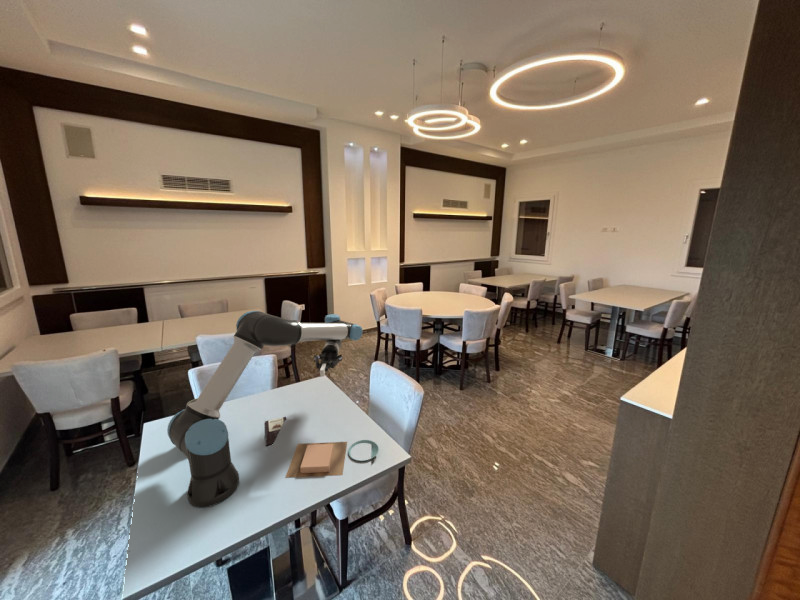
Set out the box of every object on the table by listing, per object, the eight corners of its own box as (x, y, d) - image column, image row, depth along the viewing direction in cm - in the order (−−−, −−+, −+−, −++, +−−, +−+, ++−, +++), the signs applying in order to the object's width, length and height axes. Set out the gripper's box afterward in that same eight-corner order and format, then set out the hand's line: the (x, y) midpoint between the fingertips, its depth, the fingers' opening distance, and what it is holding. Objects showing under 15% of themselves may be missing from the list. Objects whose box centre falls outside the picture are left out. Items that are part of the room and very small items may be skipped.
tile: (308, 450, 123) (300, 473, 111) (307, 444, 123) (300, 467, 111) (333, 449, 124) (329, 472, 112) (333, 443, 123) (328, 466, 112)
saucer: (356, 470, 115) (356, 464, 115) (343, 451, 125) (343, 446, 124) (384, 457, 121) (383, 452, 121) (370, 441, 131) (370, 436, 131)
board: (285, 480, 110) (285, 477, 109) (298, 446, 127) (297, 443, 127) (342, 477, 111) (342, 474, 111) (347, 444, 129) (347, 441, 128)
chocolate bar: (266, 445, 127) (265, 421, 143) (266, 447, 127) (265, 423, 143) (289, 439, 131) (286, 416, 147) (289, 441, 131) (286, 418, 147)
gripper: (344, 358, 151) (338, 381, 128) (317, 359, 150) (306, 382, 127) (343, 344, 150) (337, 364, 127) (316, 344, 149) (305, 365, 126)
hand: (321, 373), depth 127 cm, fingers closed
